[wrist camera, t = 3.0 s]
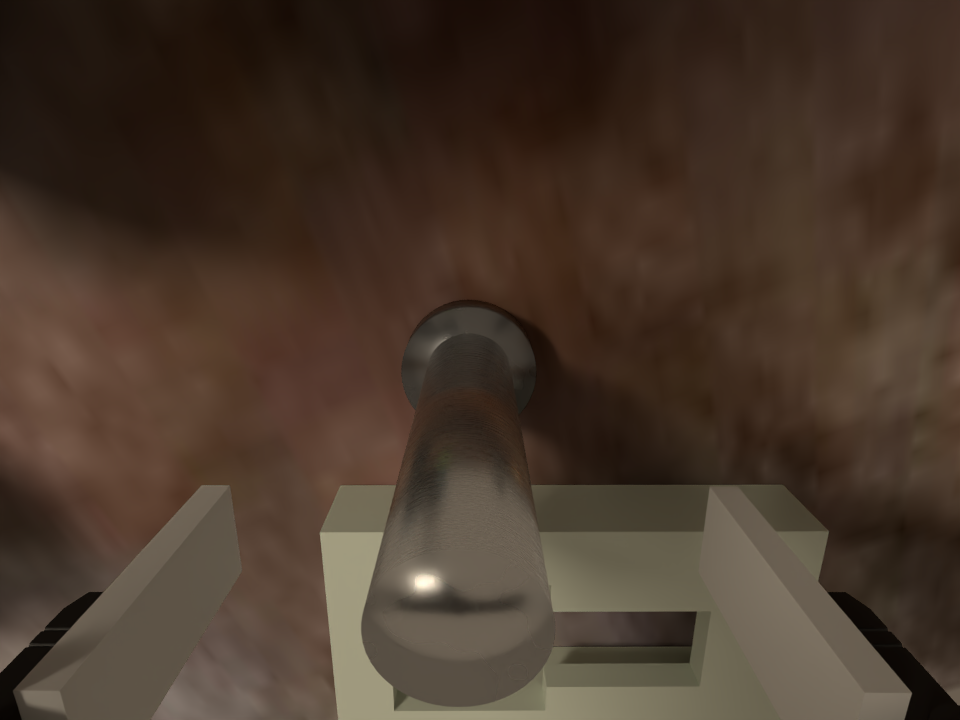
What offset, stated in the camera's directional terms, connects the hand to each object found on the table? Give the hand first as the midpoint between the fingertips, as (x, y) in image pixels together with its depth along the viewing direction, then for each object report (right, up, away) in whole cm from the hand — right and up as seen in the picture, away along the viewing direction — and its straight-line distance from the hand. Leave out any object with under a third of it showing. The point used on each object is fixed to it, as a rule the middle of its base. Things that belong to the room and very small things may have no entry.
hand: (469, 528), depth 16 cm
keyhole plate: (+5, -9, +17) cm, 20 cm away
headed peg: (0, +5, +13) cm, 14 cm away
